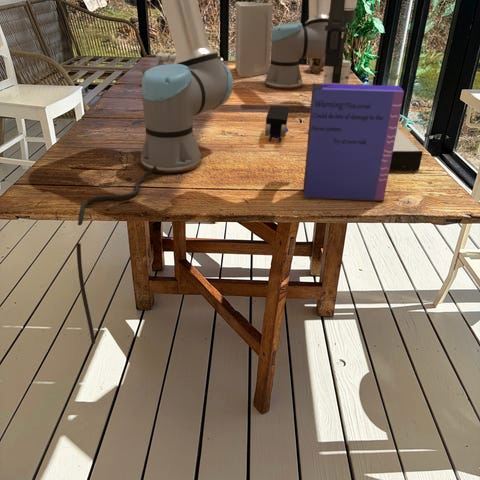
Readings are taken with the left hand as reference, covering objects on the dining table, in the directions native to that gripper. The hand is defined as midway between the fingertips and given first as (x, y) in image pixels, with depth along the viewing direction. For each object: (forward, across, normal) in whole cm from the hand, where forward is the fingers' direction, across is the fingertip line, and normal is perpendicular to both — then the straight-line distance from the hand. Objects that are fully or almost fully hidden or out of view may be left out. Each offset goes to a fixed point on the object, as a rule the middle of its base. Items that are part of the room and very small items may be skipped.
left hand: (331, 59), depth 101 cm
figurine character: (+28, -29, -13) cm, 42 cm away
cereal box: (+28, +8, +6) cm, 29 cm away
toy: (+27, -119, -63) cm, 138 cm away
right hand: (+19, -70, +4) cm, 73 cm away
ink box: (+24, -70, +4) cm, 74 cm away
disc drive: (+28, -19, +14) cm, 37 cm away
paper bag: (+27, -116, -32) cm, 123 cm away
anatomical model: (+28, -125, -4) cm, 128 cm away
